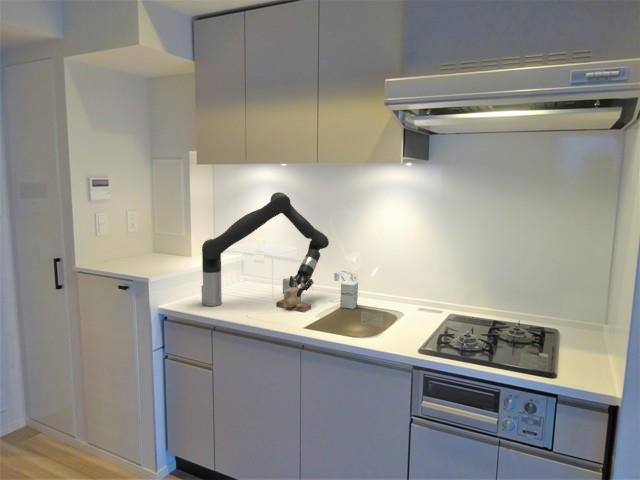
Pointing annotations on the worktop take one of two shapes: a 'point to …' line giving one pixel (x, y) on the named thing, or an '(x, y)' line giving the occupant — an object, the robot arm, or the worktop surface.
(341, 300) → the supplement box
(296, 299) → the oak crosspiece
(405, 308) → the worktop surface
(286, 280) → the medicine box
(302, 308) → the notched beam
